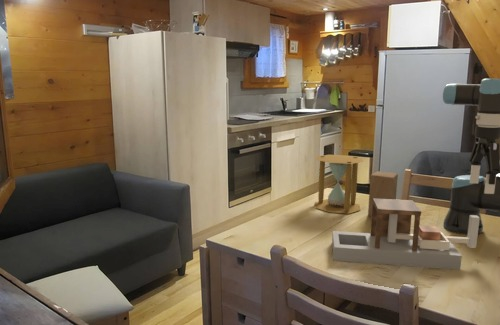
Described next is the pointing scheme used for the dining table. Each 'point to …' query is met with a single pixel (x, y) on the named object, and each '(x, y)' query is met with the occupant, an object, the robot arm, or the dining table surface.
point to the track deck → (390, 252)
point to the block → (429, 233)
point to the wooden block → (382, 187)
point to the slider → (444, 240)
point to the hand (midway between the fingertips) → (481, 188)
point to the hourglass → (337, 197)
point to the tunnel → (404, 211)
